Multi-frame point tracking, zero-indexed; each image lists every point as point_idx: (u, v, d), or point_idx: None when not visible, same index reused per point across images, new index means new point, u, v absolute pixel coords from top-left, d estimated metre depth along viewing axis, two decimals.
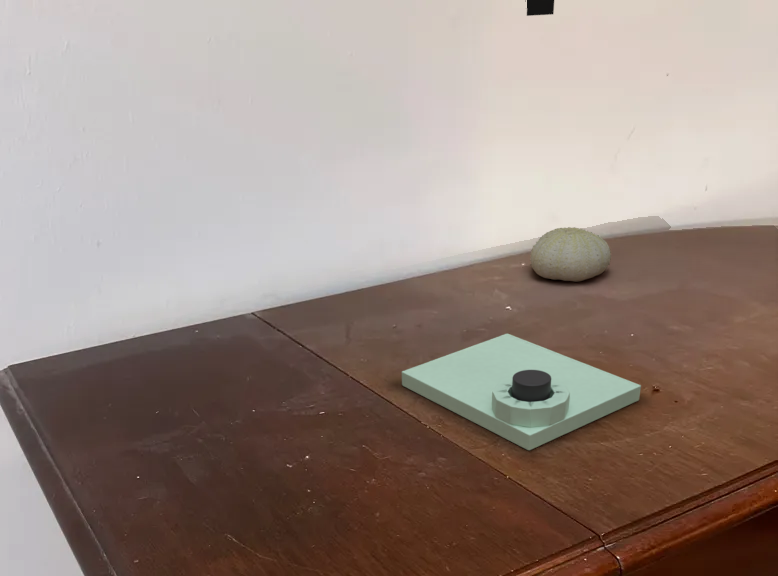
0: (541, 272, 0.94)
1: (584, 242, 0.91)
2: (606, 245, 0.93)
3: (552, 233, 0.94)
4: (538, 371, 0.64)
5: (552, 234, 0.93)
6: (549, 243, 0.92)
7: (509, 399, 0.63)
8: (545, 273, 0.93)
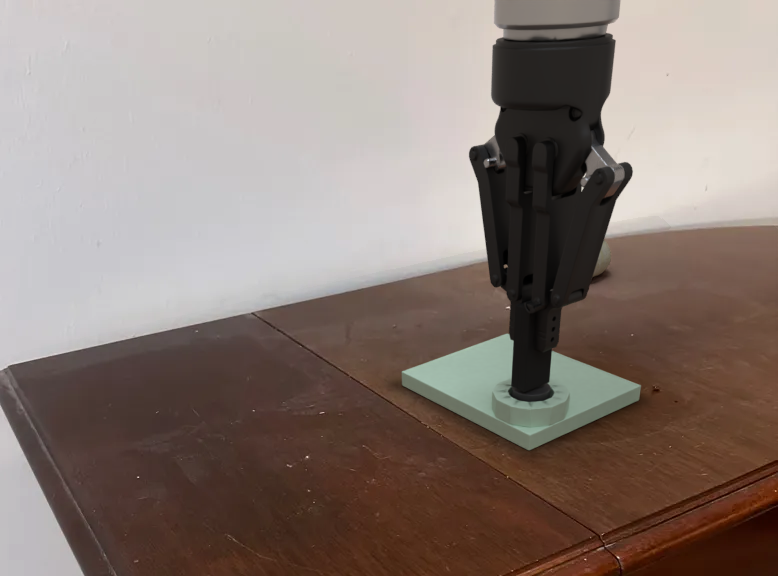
0: None
1: None
2: (606, 245, 0.93)
3: None
4: None
5: None
6: None
7: (509, 399, 0.63)
8: None
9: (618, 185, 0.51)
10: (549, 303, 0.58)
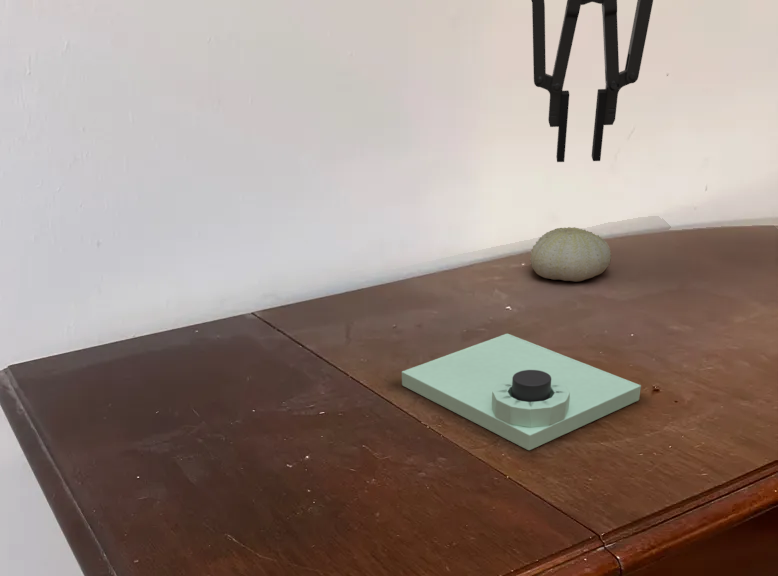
0: (541, 272, 0.94)
1: (584, 242, 0.91)
2: (606, 245, 0.93)
3: (552, 233, 0.94)
4: (538, 371, 0.64)
5: (552, 234, 0.93)
6: (549, 243, 0.92)
7: (509, 399, 0.63)
8: (545, 273, 0.93)
9: None
10: (619, 83, 0.83)
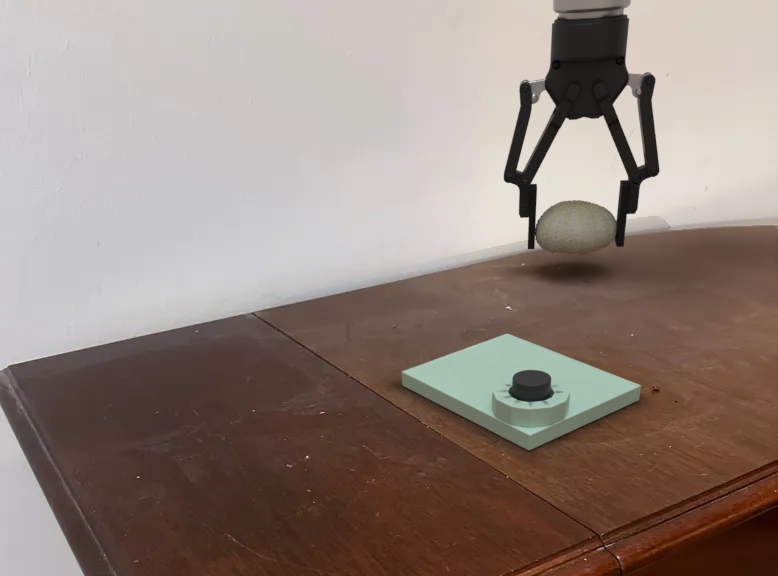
0: (546, 246, 0.92)
1: (589, 214, 0.89)
2: (612, 216, 0.91)
3: (556, 206, 0.92)
4: (538, 371, 0.64)
5: (557, 207, 0.92)
6: (554, 216, 0.90)
7: (509, 399, 0.63)
8: (551, 246, 0.91)
9: None
10: (641, 174, 0.88)
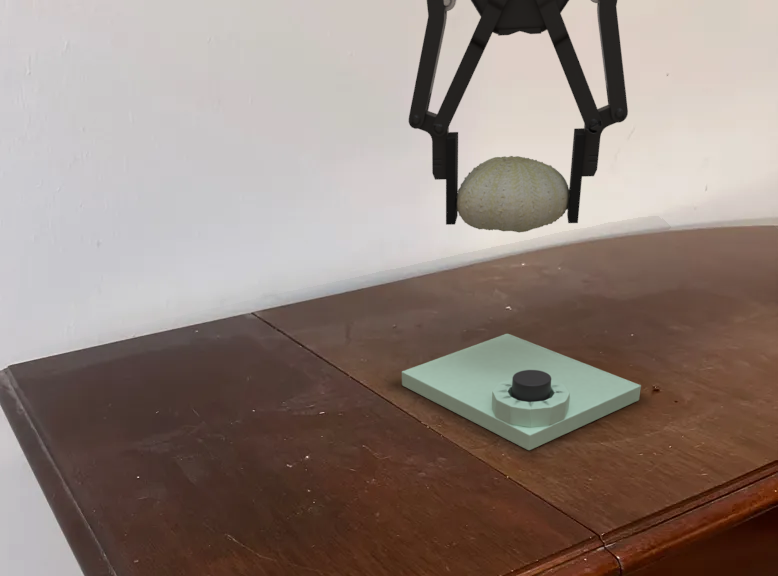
0: (469, 220, 0.65)
1: (529, 174, 0.63)
2: (562, 179, 0.65)
3: (485, 163, 0.65)
4: (538, 371, 0.64)
5: (485, 165, 0.65)
6: (480, 177, 0.64)
7: (509, 399, 0.63)
8: (475, 220, 0.65)
9: None
10: (602, 118, 0.62)
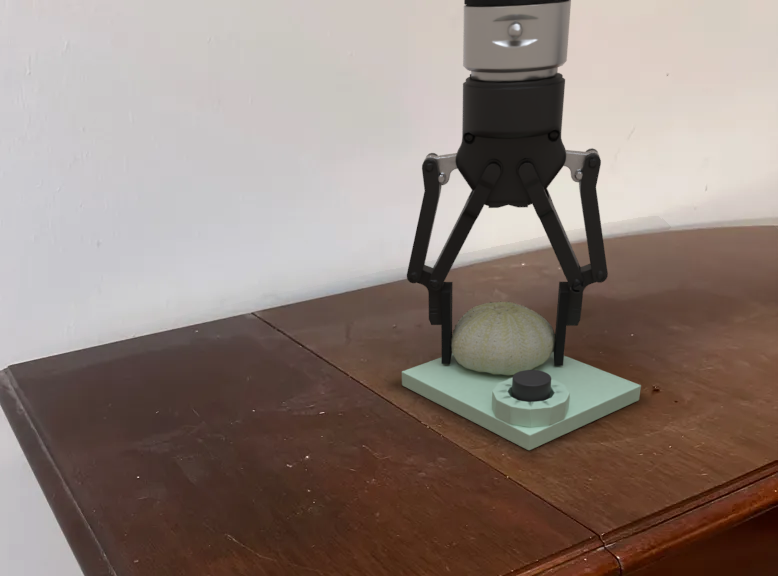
0: (463, 363, 0.71)
1: (517, 326, 0.68)
2: (548, 327, 0.70)
3: (477, 311, 0.71)
4: (538, 371, 0.64)
5: (477, 312, 0.71)
6: (472, 326, 0.70)
7: (509, 399, 0.63)
8: (468, 364, 0.70)
9: None
10: (584, 278, 0.67)
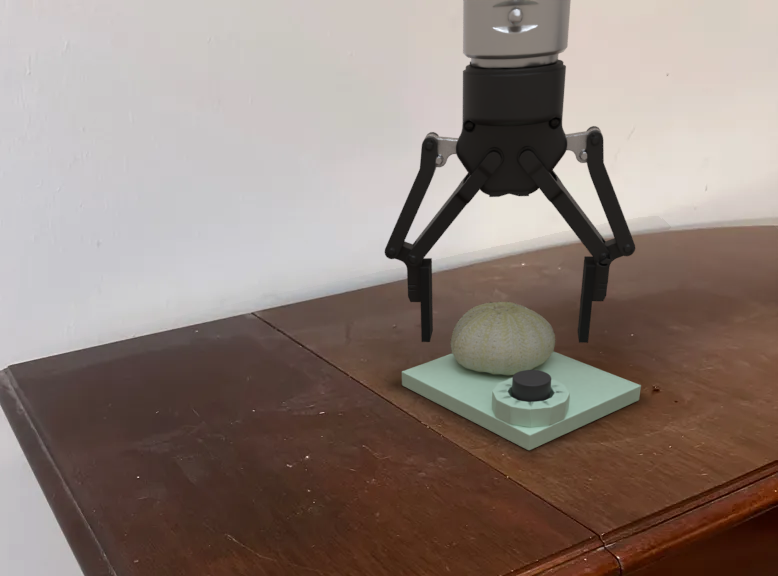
0: (462, 363, 0.71)
1: (517, 326, 0.68)
2: (548, 328, 0.70)
3: (477, 311, 0.71)
4: (538, 371, 0.64)
5: (477, 312, 0.71)
6: (472, 326, 0.70)
7: (509, 399, 0.63)
8: (468, 364, 0.70)
9: None
10: (610, 250, 0.66)
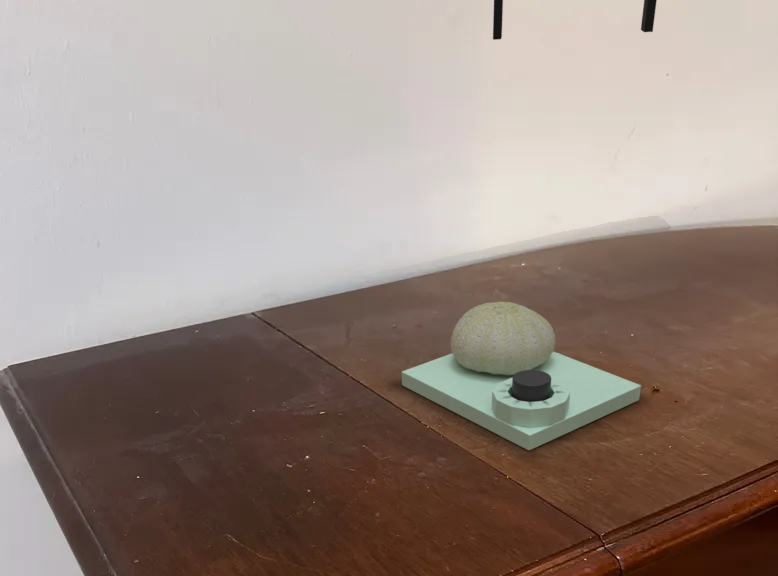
0: (462, 363, 0.71)
1: (517, 326, 0.68)
2: (548, 328, 0.70)
3: (477, 311, 0.71)
4: (538, 371, 0.64)
5: (477, 312, 0.71)
6: (472, 326, 0.70)
7: (509, 399, 0.63)
8: (468, 364, 0.70)
9: None
10: None
